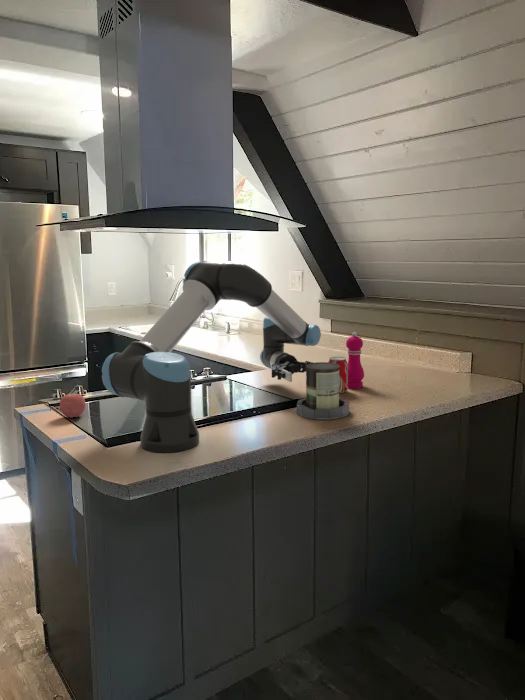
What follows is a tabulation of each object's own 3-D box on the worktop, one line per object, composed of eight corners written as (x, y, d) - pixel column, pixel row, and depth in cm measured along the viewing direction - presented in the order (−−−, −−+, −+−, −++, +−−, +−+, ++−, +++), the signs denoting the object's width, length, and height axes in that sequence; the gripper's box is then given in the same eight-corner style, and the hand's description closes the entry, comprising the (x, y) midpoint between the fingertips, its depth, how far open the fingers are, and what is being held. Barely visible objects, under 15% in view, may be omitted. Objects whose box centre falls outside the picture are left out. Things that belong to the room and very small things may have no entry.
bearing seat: (311, 422, 167) (311, 412, 166) (289, 408, 181) (289, 399, 181) (358, 416, 172) (358, 406, 172) (333, 403, 187) (333, 394, 186)
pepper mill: (356, 390, 204) (357, 334, 200) (340, 387, 209) (340, 332, 205) (367, 386, 209) (368, 331, 206) (351, 383, 214) (351, 330, 210)
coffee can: (300, 412, 175) (300, 367, 172) (313, 404, 184) (313, 361, 181) (332, 416, 170) (332, 370, 167) (344, 408, 179) (344, 363, 176)
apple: (60, 415, 178) (58, 390, 177) (85, 412, 181) (83, 387, 179) (61, 421, 171) (59, 395, 170) (87, 419, 174) (85, 393, 173)
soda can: (345, 394, 197) (345, 360, 195) (325, 393, 200) (325, 359, 198) (349, 390, 204) (349, 356, 202) (329, 388, 206) (330, 355, 204)
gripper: (316, 370, 208) (344, 383, 188) (251, 377, 199) (274, 391, 180) (316, 350, 207) (345, 360, 187) (250, 356, 198) (273, 367, 178)
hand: (310, 375), depth 183 cm, fingers open, 13 cm apart
